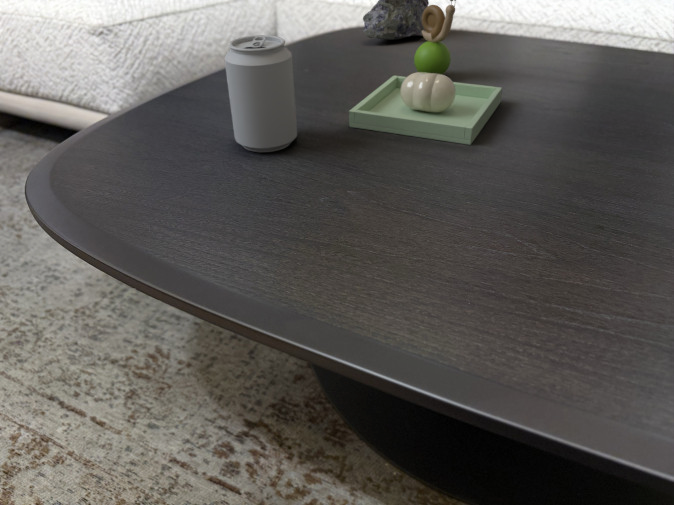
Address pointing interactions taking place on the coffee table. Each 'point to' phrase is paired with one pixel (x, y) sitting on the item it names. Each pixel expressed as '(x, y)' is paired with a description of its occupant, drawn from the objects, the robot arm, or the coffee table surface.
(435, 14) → the snail figurine
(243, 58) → the can
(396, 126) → the tray
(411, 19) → the mineral rock
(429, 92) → the cream lobed oval
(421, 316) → the coffee table surface
